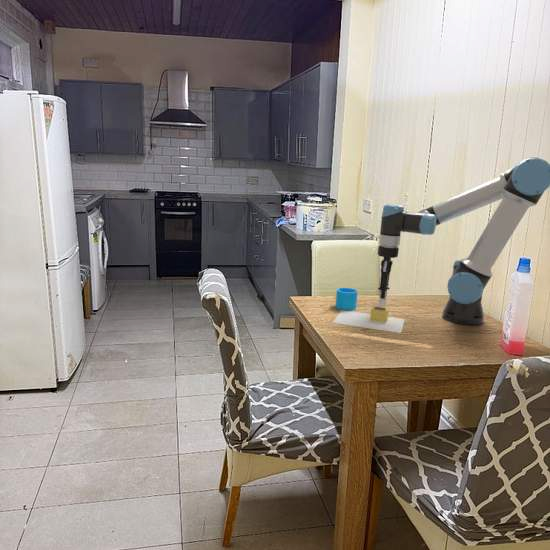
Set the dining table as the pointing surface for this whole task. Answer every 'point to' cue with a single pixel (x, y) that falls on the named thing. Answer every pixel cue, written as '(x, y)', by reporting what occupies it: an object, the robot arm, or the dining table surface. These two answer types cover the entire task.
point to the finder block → (379, 313)
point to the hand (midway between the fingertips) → (381, 305)
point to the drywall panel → (369, 321)
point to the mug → (346, 298)
